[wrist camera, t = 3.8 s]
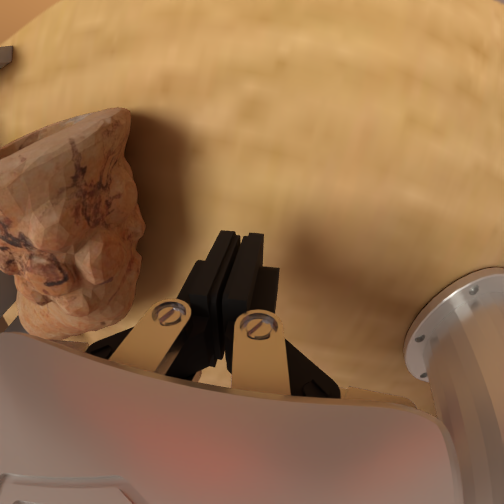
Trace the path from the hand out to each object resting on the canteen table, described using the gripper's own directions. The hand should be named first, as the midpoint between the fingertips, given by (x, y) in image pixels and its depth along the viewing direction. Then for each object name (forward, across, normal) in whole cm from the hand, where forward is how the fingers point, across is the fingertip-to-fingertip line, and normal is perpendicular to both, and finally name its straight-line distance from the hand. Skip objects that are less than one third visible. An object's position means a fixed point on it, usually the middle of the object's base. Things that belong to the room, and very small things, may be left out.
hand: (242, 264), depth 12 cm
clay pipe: (+6, +13, +1) cm, 14 cm away
